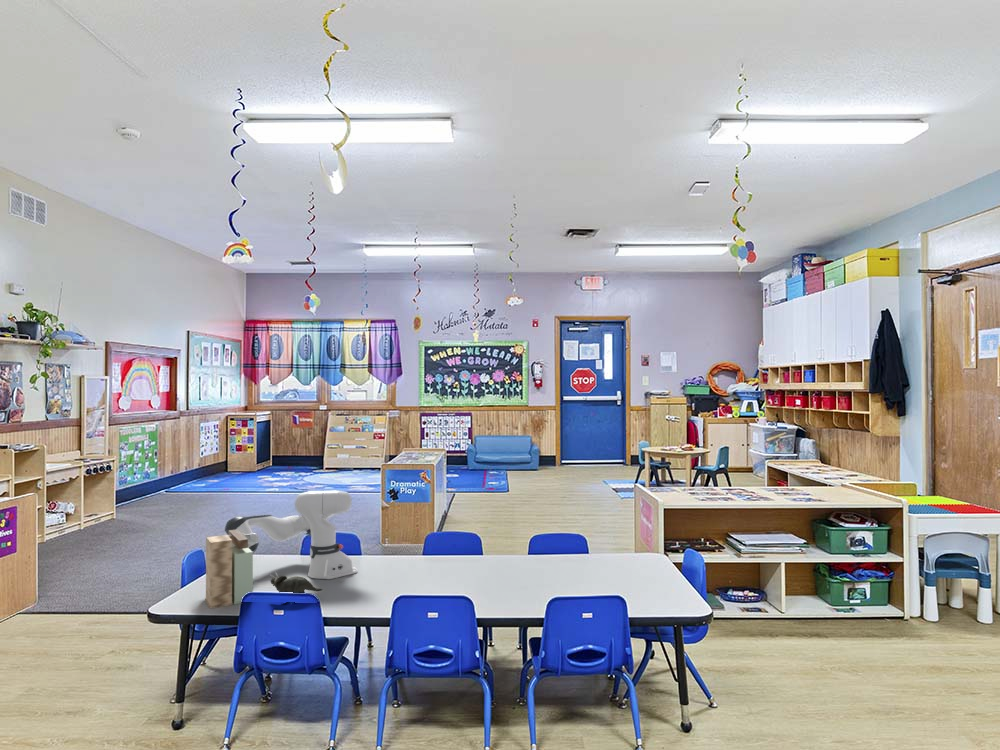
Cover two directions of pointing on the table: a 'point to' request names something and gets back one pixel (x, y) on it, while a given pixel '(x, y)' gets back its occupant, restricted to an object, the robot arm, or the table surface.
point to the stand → (218, 571)
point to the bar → (238, 539)
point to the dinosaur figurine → (292, 584)
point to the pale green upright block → (241, 573)
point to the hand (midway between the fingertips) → (235, 535)
